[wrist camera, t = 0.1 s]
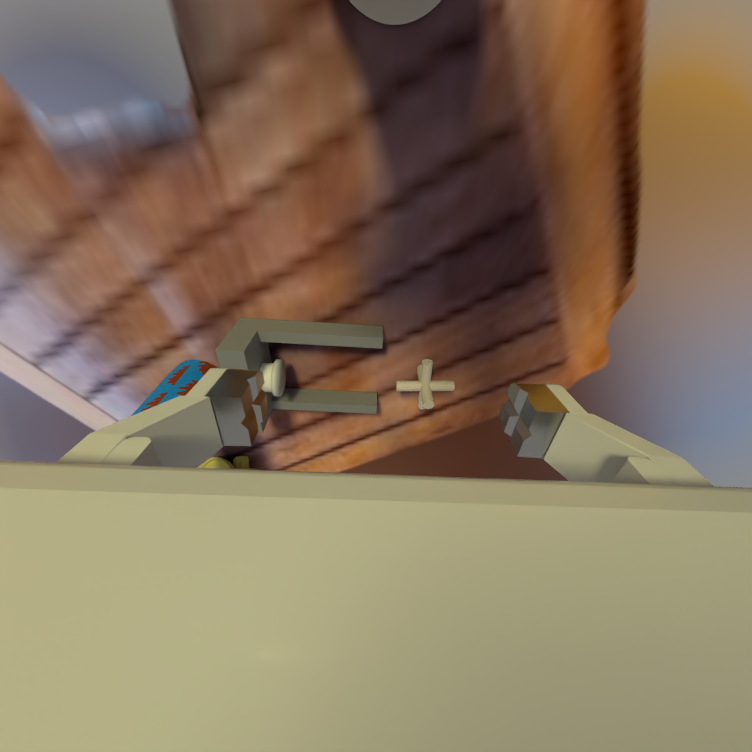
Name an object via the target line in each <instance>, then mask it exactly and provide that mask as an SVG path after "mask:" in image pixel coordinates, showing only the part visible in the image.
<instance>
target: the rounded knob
mask: <svg viewBox="0 0 752 752" xmlns="http://www.w3.org/2000/svg"><path fill="white" fill-rule="evenodd" d="M259 371H261V372H262V373H263V377H264V382H265V383H264V384H263V386H262V388H261V389H262V390H263V391H264V392H272V394H273V395H274V396H277V397H280V396H282V394H283V392H284V388H285V382H286V367H285V363H284V361H283V360H281V359H276V360H275V361H274V363H262V365H261V367H260V370H259Z"/></svg>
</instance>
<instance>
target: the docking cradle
mask: <svg viewBox="0 0 752 752" xmlns="http://www.w3.org/2000/svg"><path fill="white" fill-rule="evenodd" d="M268 342H273V343H291V344H309V345H327V346H345V347H363V348H381V349H382V346H383V326H373V325H356V324H339V323H322V322H305V321H288V320H271V319H254V318H239V320H238V321H237V322H236V324H235V325H234V326H233V327H232V329H231V330H230V331H229V333H228V334H227V335H226V337H225V338H224V339H223V340H222V342H221V343H220V344H219V346H218V347H217V348H216V350H215V351H216V354H217V358H218V361H219V364H220V368H228V369H243V370H258V371H259V370H260V367H261V365H262V363H272V361H271V355H270V350H269V344H268ZM265 393H266V395H267V411H266V416H265V418H264V420H263V422H262V423H260V424H258V432H260V433H263V431H264V428H265V426H266V423H267V421H268V418H269V416H270V413H271V410H272V409H284V410H305V411H326V412H347V413H368V414H376V411H377V393H374V392H354V391H334V390H314V389H295V388H284V392H283V394H282V396H280V397H277V396H274V395H273V394H272V392H265Z"/></svg>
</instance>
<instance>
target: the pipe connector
mask: <svg viewBox="0 0 752 752" xmlns="http://www.w3.org/2000/svg"><path fill="white" fill-rule="evenodd" d="M432 366H433V361H432V360H430V359H424V360H422V365H419V366H418V367H417V374H418V380H419V381H396V391H419V397H418V408H419V409H422V410H424V409H431V408H433V407H434V400H433V396H432V391H454V388H455V384H454V381H431V374H432Z"/></svg>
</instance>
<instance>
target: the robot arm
mask: <svg viewBox="0 0 752 752" xmlns="http://www.w3.org/2000/svg"><path fill="white" fill-rule="evenodd" d="M349 1H350V2H351V3H352V4H353V5H354V7H355V8H357V9H358V10H359V11H360V12H361V13H363V14H364V15H365V16H367V17H369V18H370V19H372V20H374V21H377V22H380V23H383V24H389V25H401V24H406V23H410V22H413V21H415V20H417V19H419V18H421V17H423V16H424V15H426V14H427V13H429V12H430V11H431V10H432V9H433V8H435V7H436V6H437V5H438V4H439V3H440V2H441V0H349ZM264 383H265V382H264V377H263V373H262V372H261V371H258V370H243V369H228V368H210V369H209V370H208V371H207V373H206V374H205V375H204V376H203V377H202V378H201V379H200V380H199V381H198V383H197V384H196V385H195V386H194V387H193V388H192V389H191V390H190V391H189V392H188V394H187V395H186V396H178V397H176V398H173V399H171V400H168V401H166V402H164V403H161V404H159V405H157V406H154V407H152V408H149V409H147V410H145V411H142V412H140V413H138V414H135V415H133V416H130V417H128V418H126V419H123V420H121V421H119V422H116V423H114V424H111V425H109V426H107V427H104V428H102V429H100V430H97V431H95V432H92V433H90V434H89V435H87V436H86V437H85V438H84V439H83V440H82V441H81V442H79V443H78V444H77V445H76V446H75V447H74V448H72V449H71V450H70V451H69V452H68V453H67V454H66V455H65V456H63V457H62V458H61V459H60V460H59V461H58V462H56V463H55V462H28V461H1V460H0V752H752V488H742V487H741V488H740V487H714V486H713V485H712V484H711V483H710V482H709V481H707V480H706V479H705V478H704V477H703V476H702V475H701V474H699V473H698V472H697V471H696V470H695V469H694V468H693V467H692V466H690V465H689V464H688V463H687V462H686V461H685V460H684V459H682V458H681V457H679V456H677V455H675V454H673V453H671V452H669V451H667V450H665V449H663V448H661V447H659V446H657V445H655V444H653V443H650V442H648V441H646V440H644V439H642V438H640V437H638V436H636V435H634V434H632V433H630V432H628V431H626V430H624V429H622V428H620V427H618V426H616V425H614V424H612V423H610V422H608V421H605V420H604V419H602V418H600V417H598V416H596V415H593V414H588V413H587V412H586V411H585V410H584V409H583V408H582V407H581V406H580V405H579V404H578V403H577V402H576V401H575V400H574V399H573V398H572V396H571V395H570V394H569V393H568V392H567V391H566V390H565V389H564V388H563V387H562V386H560V385H558V384H518V383H512V384H511V385H510V386H509V388H508V391H507V393H506V394H507V396H508V398H509V400H508V401H506V402H505V403H504V404H503V405H502V408H501V411H500V423H501V427H502V429H503V431H504V432H505V433H506V434H508V435H510V436H511V438H510V441H509V442H510V444H511V446H512V448H513V450H514V451H515V453H516V455H517V457H532V458H544V460H545V461H546V462H547V463H548V464H550V465H551V466H552V467H553V468H554V469H556V470H557V471H558V472H559V473H560V474H562V475H563V476H564V477H565V478H567V479H568V480H569V481H549V480H520V479H494V478H466V477H437V476H410V475H383V474H355V473H354V474H353V473H329V472H302V471H274V470H247V469H220V468H196V467H198V466H199V465H200V464H202V463H203V462H204V461H206V460H207V459H208V458H209V457H211V456H212V455H213V454H215V453H216V452H217V451H219V450H220V449H221V448H222V447H223V446H252V444H253V442H254V439H255V437H256V435H257V433H258V424H260V423H262V422H263V420H264V418H265V416H266V411H267V395H266V393H265V392H264V391H263V390H262V389H261V388H262V386H263V384H264Z"/></svg>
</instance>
